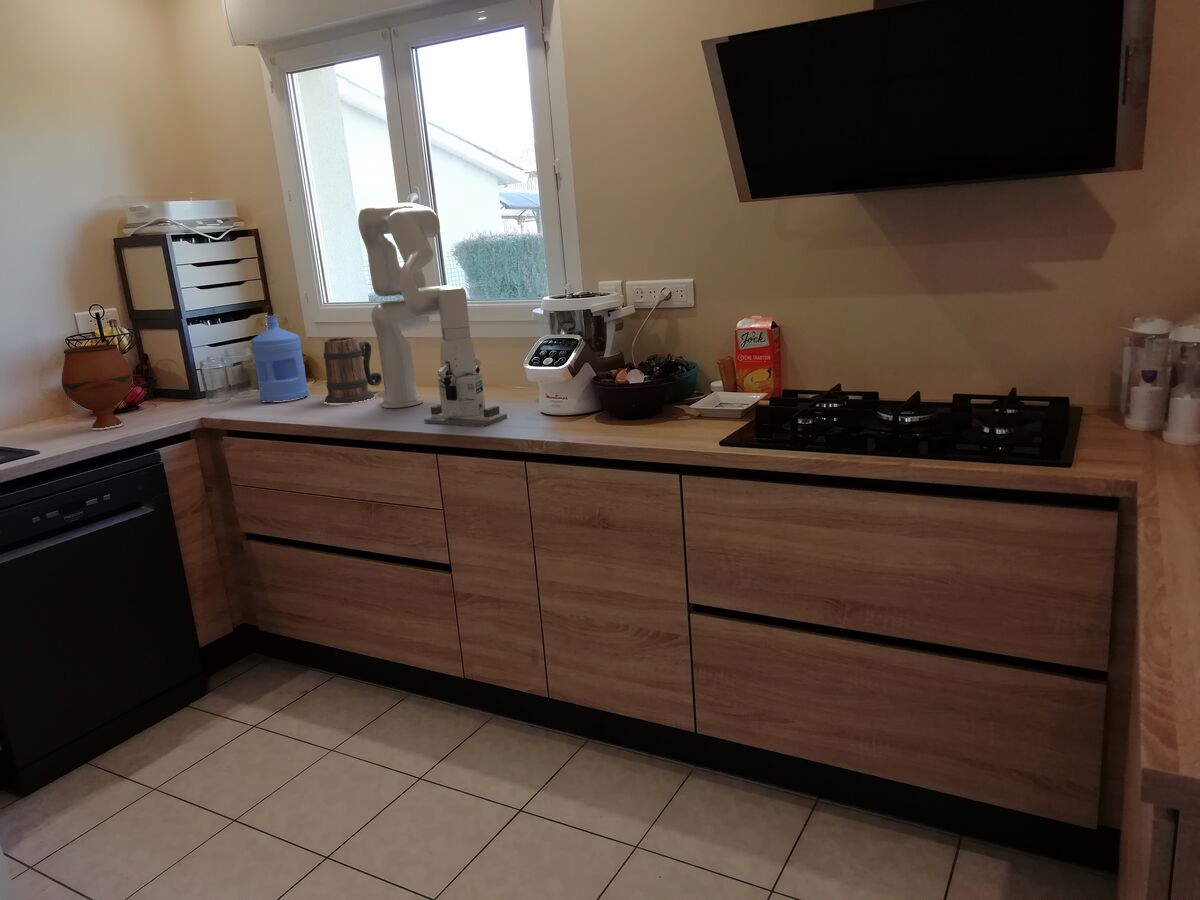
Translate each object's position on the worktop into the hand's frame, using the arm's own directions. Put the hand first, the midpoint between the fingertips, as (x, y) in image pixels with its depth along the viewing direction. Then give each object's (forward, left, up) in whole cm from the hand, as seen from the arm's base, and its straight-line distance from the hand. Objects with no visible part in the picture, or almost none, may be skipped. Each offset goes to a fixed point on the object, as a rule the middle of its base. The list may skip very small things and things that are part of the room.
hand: (463, 396), depth 237 cm
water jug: (-88, +15, -7) cm, 89 cm away
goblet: (-113, -32, -7) cm, 118 cm away
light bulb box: (0, 0, -5) cm, 5 cm away
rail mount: (0, 0, -7) cm, 7 cm away
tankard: (-61, +21, -7) cm, 65 cm away
